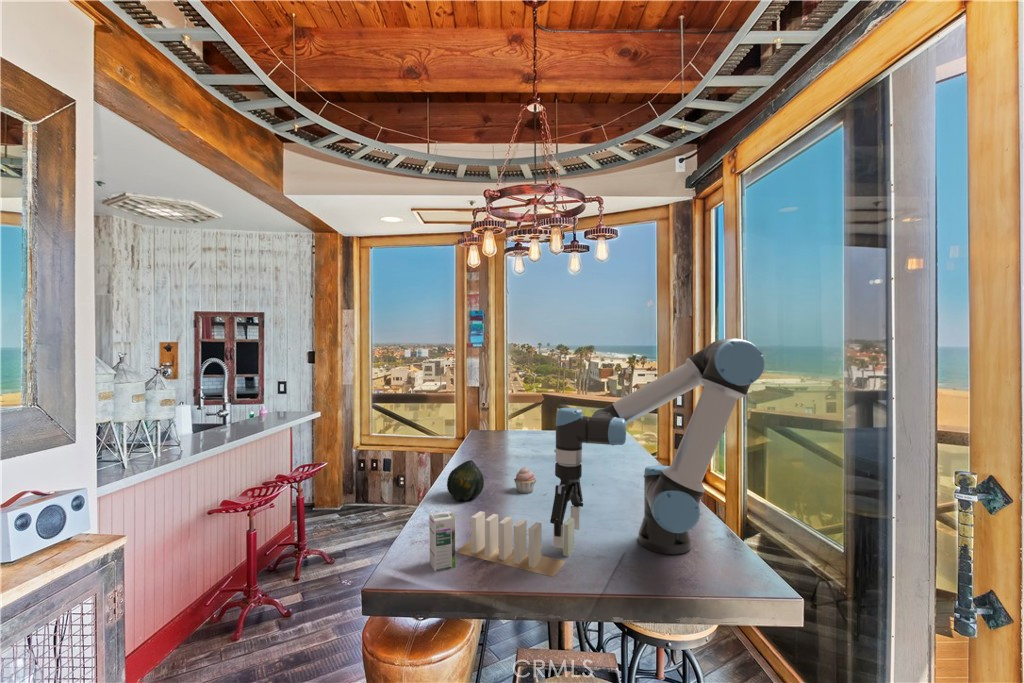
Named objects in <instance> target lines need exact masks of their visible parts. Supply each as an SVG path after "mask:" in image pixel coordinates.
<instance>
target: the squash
mask: <svg viewBox="0 0 1024 683" xmlns="http://www.w3.org/2000/svg"><path fill="white" fill-rule="evenodd" d="M484 483H485V480H484V474H483V473H482V471H481V470H480V469H479V467H478V466H477V465H476V463H475V462H474V461H473V460H472V459H471V460H466V461H464V462H462V463H461V464H459V465H457V466H456V467H455V468H453V469H452V470H451V471H450V473H449V475H448V476H447V481H446V487H447V491H448V494H450V495H451V496H452V498H453V499H454V500H455V501H459V502H460V501H462V500H463V501H468V500H470V499H474V498H477V497H478V496H479V495H480V494H481V493H482V492H483V490H484V486H485V484H484Z"/></svg>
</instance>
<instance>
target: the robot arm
mask: <svg viewBox="0 0 1024 683" xmlns="http://www.w3.org/2000/svg"><path fill="white" fill-rule="evenodd" d="M685 359H686V360H685V362H684V363H683V364H682V365H680V366H677V367H676V368H674V369H673V370H670V371H669V372H667V373H666V374H663V375H662V376H660V377H658V378H656V379H655V380H653V381H651V382H649V383H647V384H645V385H643V386H642V387H640V388H638V389H636V390H634V391H633V392H631V393H629V394H627V395H625V396H623V397H622V398H620V399H619V400H616V401H615V402H613V403H611V404H609V405H607V406H606V407H605V406H604V408H598V409H597V410H595V411H594V412H593V414H592V415H591V416H586V415H584V413H583V410H582V409H581V408H577V407H576V408H575V407H562V408H559V409H558V410H557V411H556V417H555V449H554V450H553V452H554V453H555V462H556V463H555V464H554V467H555V468H554V476H555V477H556V478H559V480H560V482H559V485H558V484H557V485H555V487H554V488H555V489H554V490H555V492H554V499H553V503H552V504H553V505H552V510H551V515H550V522H549V524H553V547H555V548H559V549H562V550H563V548H564V519H565V516H566V510H567V507H568V503H569V502H571V505H570V516H569V518H573V519H574V530H577V531H579V530H581V527H580V526H581V508H583V507H584V502H583V501H584V498H583V492H582V486H581V478H582V474H583V472H582V469H583V468H582V467H583V466H582V464H581V463H582V462H583V444H596V445H605V446H606V445H607V446H608V445H609V446H623V445H625V444H626V442H627V441H626V440H627V439H626V438H627V425H629V424H630V423H632V422H633V421H636V420H638V419H639V418H642V417H643V416H645V415H647V414H649V413H650V412H652V411H654V410H655V409H658V408H660V407H662V406H664V405H665V404H667V403H669V402H670V401H673V400H675V399H676V398H678V397H680V396H682V395H684V394H687V393H688V392H690V391H691V390H694V389H696V388H697V387H699V386H702V387H703V389H702V391H701V393H700V396H699V399H698V400H697V403H696V406H695V408H694V410H693V412H692V415H691V417H690V420H689V422H688V424H687V427H686V428H685V431H684V433H683V435H682V439H681V440H680V442H679V445H678V448H677V450H676V453H675V455H674V457H673V460H672V462H671V464H670V465H648V466H646V467H645V468H644V471H643V472H644V474H643V478H644V481H643V482H644V484H643V486H644V488H643V490H644V491H643V492H644V496H643V497H644V500H643V501H644V502H643V504H644V505H643V506H644V507H643V508H644V513H643V514H644V516H643V518H642V520H641V525H640V528H639V529H638V542H639V544H640V545H641V546H642V547H644V548H646V549H647V550H650V551H653V552H655V553H659V554H665V555H681V554H682V555H683V554H685V553H687V552H689V551H690V550H691V548H692V536H691V534H690V531H691V530H693V529H694V527H696V525H697V524H698V523H699V521H700V516H701V512H700V511H701V509H700V502H701V500H702V499H703V496H704V493H705V491H706V489H705V487H704V485H703V480H704V477H705V474H706V473H707V471H708V469H709V465H710V463H711V461H712V459H713V456H714V454H715V451H716V449H717V447H718V446H719V443H720V440H721V438H722V435H723V433H724V431H725V429H726V426H727V424H728V421H729V420H730V417H731V414H732V412H733V410H734V408H735V405H736V403H737V401H738V400H739V399H742V398H745V397H746V396H747V393H748V392H749V389H750V387H751V385H752V384H753V383H755V382H757V380H758V379H760V378H761V376H762V375H763V372H764V371H765V358H764V355H763V353H762V351H761V349H760V348H758V346H757V345H755V344H754V343H752V342H750V341H748V340H745V339H741V338H729V339H725V338H723V339H717V340H715V341H713V342H710V343H709V344H708V345H706V346H705V347H704V348H702V349H701V350H698V351H697V352H696V353H694V354H692V355H691V356H689V357H687V358H685Z"/></svg>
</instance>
